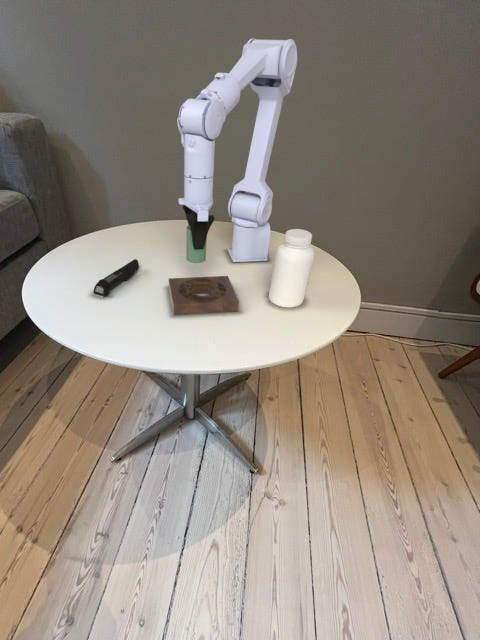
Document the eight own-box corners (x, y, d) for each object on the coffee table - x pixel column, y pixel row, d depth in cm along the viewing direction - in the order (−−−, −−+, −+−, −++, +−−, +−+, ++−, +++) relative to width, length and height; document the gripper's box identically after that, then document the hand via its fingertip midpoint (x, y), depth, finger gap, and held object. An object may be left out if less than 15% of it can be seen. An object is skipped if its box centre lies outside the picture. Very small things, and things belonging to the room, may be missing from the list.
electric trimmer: (143, 272, 97) (142, 260, 95) (105, 298, 87) (104, 285, 85) (131, 268, 99) (130, 256, 97) (92, 294, 88) (90, 281, 86)
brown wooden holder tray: (227, 285, 92) (227, 275, 91) (237, 311, 84) (239, 301, 82) (168, 288, 91) (168, 278, 89) (173, 315, 82) (173, 304, 80)
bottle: (204, 254, 88) (206, 208, 82) (207, 262, 85) (209, 216, 78) (185, 255, 88) (185, 209, 81) (187, 263, 85) (187, 216, 78)
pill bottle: (282, 311, 84) (296, 243, 74) (261, 295, 89) (271, 229, 79) (310, 303, 87) (327, 237, 76) (288, 288, 92) (301, 223, 82)
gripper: (175, 166, 80) (175, 232, 89) (182, 186, 69) (182, 258, 79) (208, 166, 81) (205, 231, 90) (220, 185, 70) (216, 257, 79)
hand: (197, 244), depth 84 cm, fingers closed on bottle, 4 cm apart
